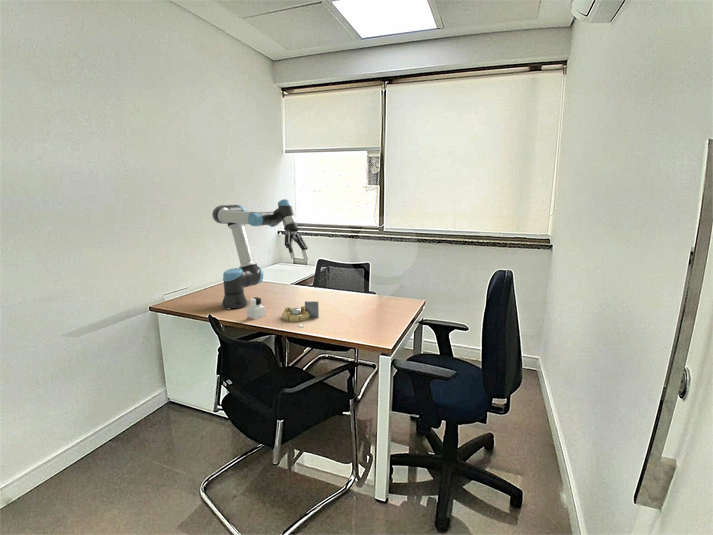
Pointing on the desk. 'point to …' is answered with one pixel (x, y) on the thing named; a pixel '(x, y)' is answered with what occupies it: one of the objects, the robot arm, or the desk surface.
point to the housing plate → (296, 311)
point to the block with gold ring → (302, 312)
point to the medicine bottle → (255, 308)
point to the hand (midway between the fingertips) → (300, 259)
